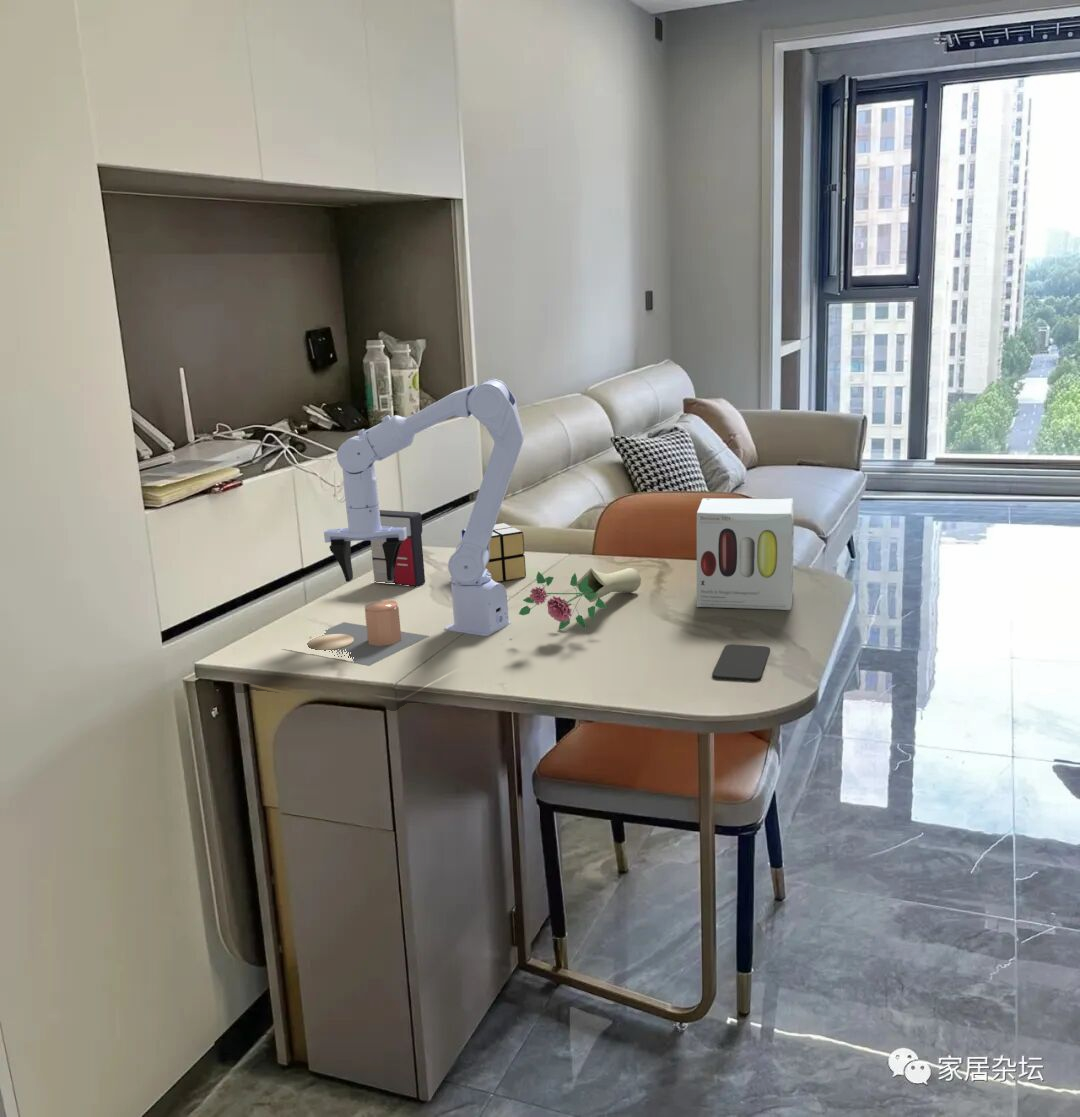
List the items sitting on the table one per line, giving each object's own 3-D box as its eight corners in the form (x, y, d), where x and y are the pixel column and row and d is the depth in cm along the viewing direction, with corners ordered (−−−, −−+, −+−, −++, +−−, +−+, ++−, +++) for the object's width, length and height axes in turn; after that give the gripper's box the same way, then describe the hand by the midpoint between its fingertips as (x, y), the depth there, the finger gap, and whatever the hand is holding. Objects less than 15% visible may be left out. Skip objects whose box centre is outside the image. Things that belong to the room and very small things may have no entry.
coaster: (363, 639, 189) (363, 637, 189) (332, 653, 182) (331, 651, 182) (329, 633, 193) (329, 631, 193) (297, 647, 186) (297, 645, 186)
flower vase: (642, 633, 208) (567, 652, 177) (587, 609, 213) (505, 623, 181) (662, 576, 206) (590, 586, 174) (607, 553, 211) (527, 558, 179)
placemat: (429, 638, 188) (429, 635, 188) (369, 667, 175) (369, 665, 175) (344, 624, 199) (343, 622, 199) (281, 651, 186) (281, 649, 186)
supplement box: (695, 609, 196) (693, 512, 192) (702, 588, 209) (701, 497, 204) (792, 611, 192) (793, 512, 188) (793, 589, 205) (794, 496, 200)
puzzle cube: (464, 575, 228) (460, 529, 226) (507, 567, 232) (504, 522, 230) (482, 586, 219) (478, 538, 217) (526, 578, 223) (523, 531, 221)
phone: (771, 646, 174) (760, 679, 160) (771, 651, 174) (760, 684, 160) (725, 643, 176) (710, 675, 162) (725, 648, 176) (710, 680, 163)
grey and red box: (372, 583, 225) (365, 514, 221) (384, 578, 229) (377, 509, 225) (415, 588, 220) (409, 516, 216) (427, 582, 224) (421, 512, 220)
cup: (407, 637, 188) (404, 601, 187) (386, 647, 184) (383, 611, 182) (382, 633, 191) (379, 598, 190) (361, 643, 187) (357, 607, 185)
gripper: (408, 499, 191) (415, 572, 195) (329, 501, 193) (337, 574, 197) (398, 507, 185) (405, 583, 188) (317, 510, 187) (325, 585, 190)
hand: (370, 579), depth 192 cm, fingers open, 7 cm apart
